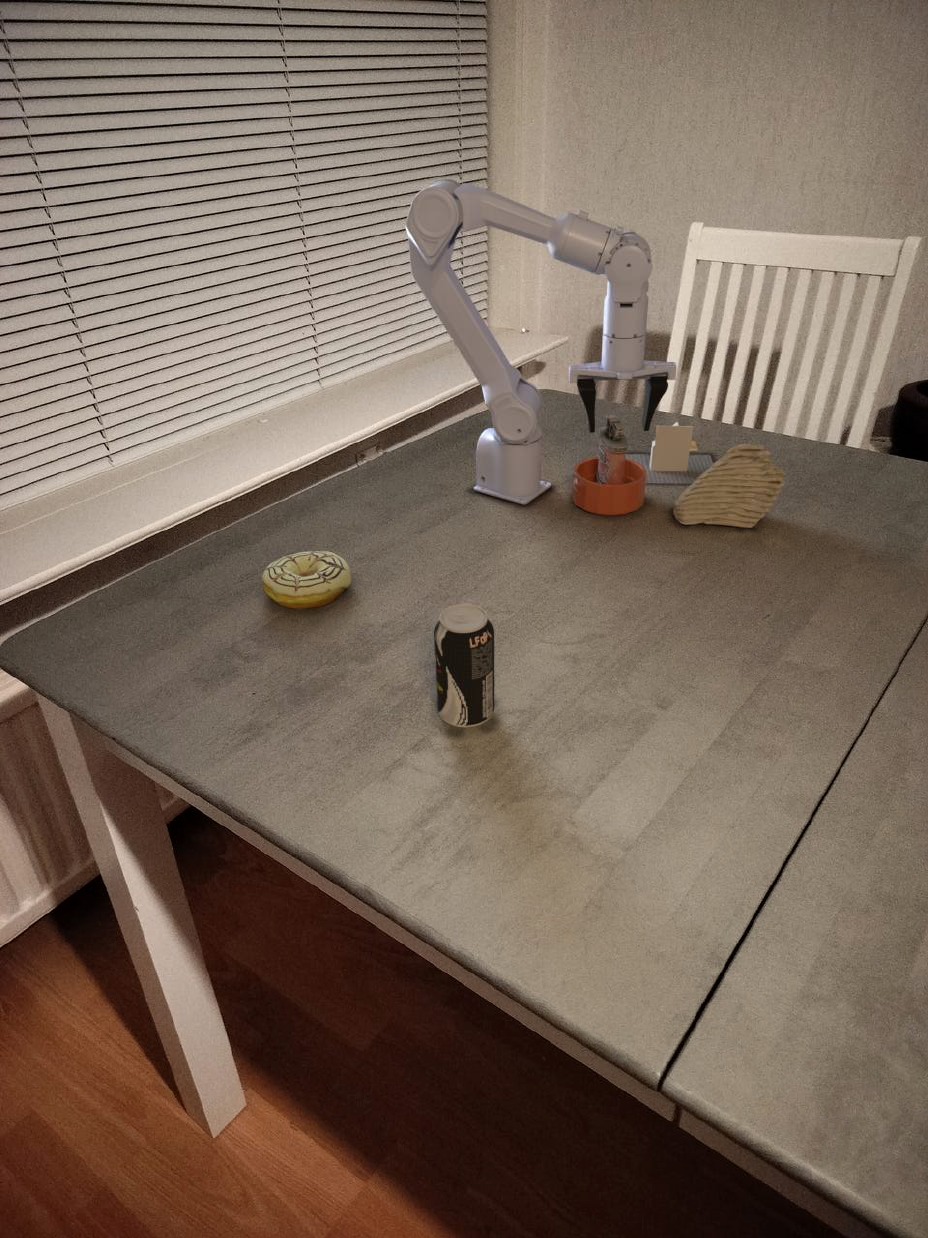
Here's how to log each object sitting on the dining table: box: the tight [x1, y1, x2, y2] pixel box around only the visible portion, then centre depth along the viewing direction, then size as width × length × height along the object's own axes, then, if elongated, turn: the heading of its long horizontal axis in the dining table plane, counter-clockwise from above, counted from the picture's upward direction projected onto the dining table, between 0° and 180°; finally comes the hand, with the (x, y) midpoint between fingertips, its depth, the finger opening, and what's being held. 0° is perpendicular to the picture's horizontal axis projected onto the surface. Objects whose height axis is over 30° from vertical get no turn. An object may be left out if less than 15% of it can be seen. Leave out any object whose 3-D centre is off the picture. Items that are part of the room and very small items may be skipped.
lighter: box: [596, 414, 629, 485], centre depth 118 cm, size 8×3×10 cm, turn 5°
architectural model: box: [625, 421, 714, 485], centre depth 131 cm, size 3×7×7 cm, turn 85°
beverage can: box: [433, 603, 495, 728], centre depth 80 cm, size 6×6×12 cm
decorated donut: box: [261, 550, 352, 611], centre depth 103 cm, size 10×11×4 cm
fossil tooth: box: [672, 443, 787, 529], centre depth 114 cm, size 12×6×15 cm
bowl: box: [571, 456, 647, 517], centre depth 121 cm, size 10×10×5 cm
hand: (618, 429), depth 119 cm, fingers open, 7 cm apart
